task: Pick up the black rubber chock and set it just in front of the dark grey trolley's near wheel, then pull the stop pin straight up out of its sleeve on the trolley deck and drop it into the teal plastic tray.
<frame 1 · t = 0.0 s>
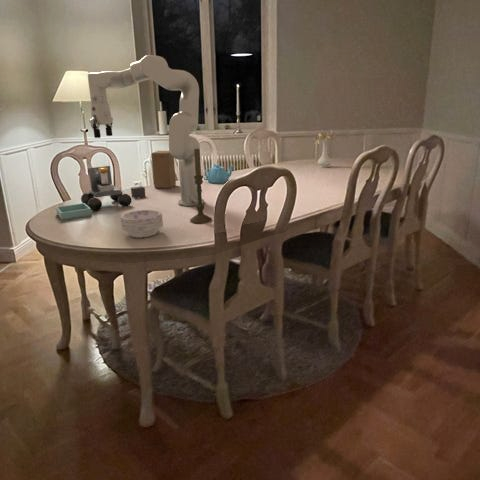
hand: (103, 136, 210), 31 cm above the table, tool pointing down, fingers open, 9 cm apart
wooden block: (165, 187, 246), on the table
flower vase: (324, 167, 295), on the table
trolley: (106, 205, 206), on the table
candlestick holder: (201, 221, 177), on the table
tray: (74, 215, 191), on the table
teapot: (219, 182, 256), on the table
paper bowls: (143, 234, 162), on the table
stop pin: (105, 190, 202), point 8 cm above the table, touching trolley
chock: (138, 196, 223), on the table
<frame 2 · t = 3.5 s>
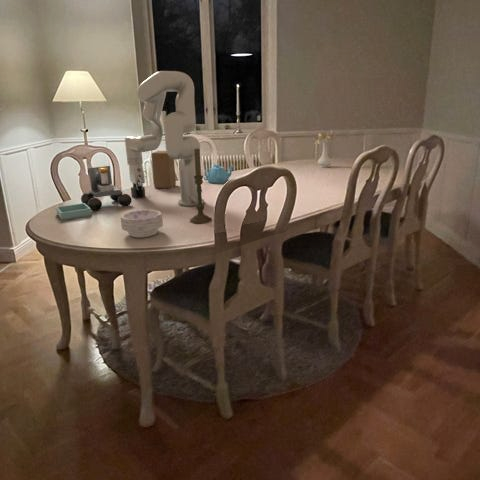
hand: (138, 196, 223), 0 cm above the table, tool pointing down, fingers closed on chock, 4 cm apart
chock: (138, 196, 223), on the table, touching gripper
everything else where it was.
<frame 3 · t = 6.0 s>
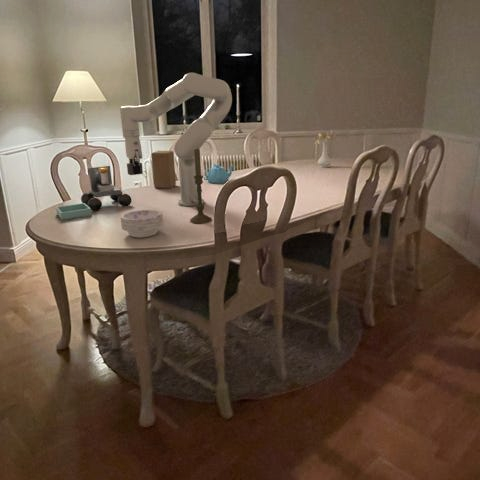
hand: (135, 173, 203), 15 cm above the table, tool pointing down, fingers closed on chock, 4 cm apart
chock: (135, 174, 203), point 15 cm above the table, touching gripper
everything else where it was.
when the fingers open (2 cm above the table, at t = 8.8 s): chock drops 1 cm, on the table.
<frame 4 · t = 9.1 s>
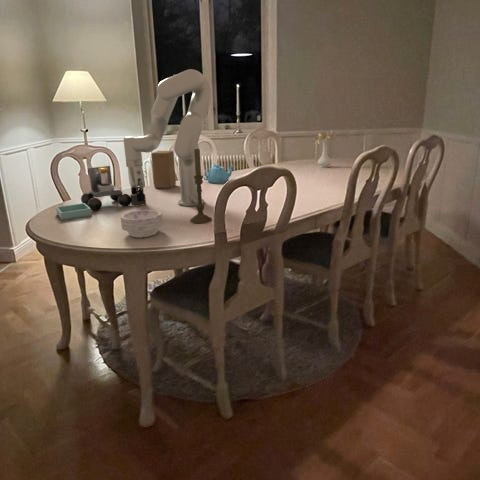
hand: (138, 199, 207), 2 cm above the table, tool pointing down, fingers open, 7 cm apart
chock: (138, 204, 208), on the table
everything else where it was.
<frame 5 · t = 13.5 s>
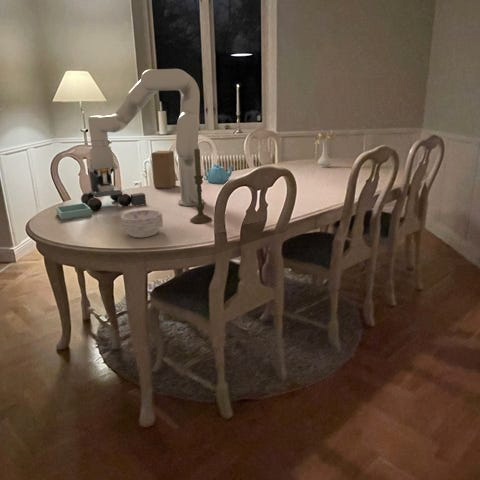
hand: (105, 183, 201), 11 cm above the table, tool pointing down, fingers closed on stop pin, 3 cm apart
stop pin: (105, 190, 202), point 8 cm above the table, touching gripper, trolley
everything else where it was.
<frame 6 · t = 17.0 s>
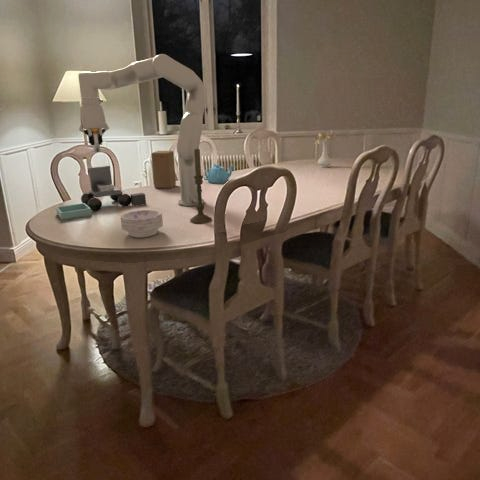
hand: (96, 144, 194), 29 cm above the table, tool pointing down, fingers closed on stop pin, 3 cm apart
stop pin: (97, 151, 195), point 26 cm above the table, touching gripper
everything else where it was.
when the fingers open (7 cm above the table, at t = 20.8 s): stop pin drops 3 cm, resting on tray.
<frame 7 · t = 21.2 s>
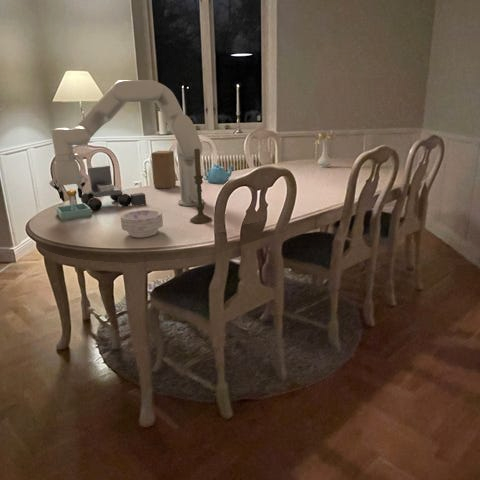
hand: (71, 198, 188), 8 cm above the table, tool pointing down, fingers open, 6 cm apart
stop pin: (74, 213, 191), point 1 cm above the table, touching tray
everything else where it was.
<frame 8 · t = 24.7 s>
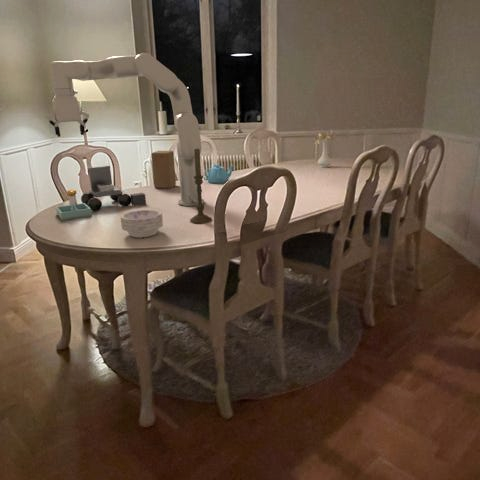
hand: (70, 135, 183), 34 cm above the table, tool pointing down, fingers open, 9 cm apart
nothing on the table moved.
at the end: chock 0.1 cm from the target spot, on the table; stop pin inside the target area on the tray (0.4 cm from its centre), point 0.8 cm above the tray's base; the gripper is holding nothing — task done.
